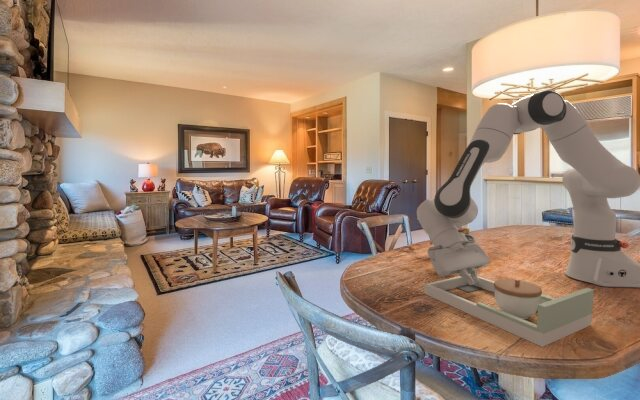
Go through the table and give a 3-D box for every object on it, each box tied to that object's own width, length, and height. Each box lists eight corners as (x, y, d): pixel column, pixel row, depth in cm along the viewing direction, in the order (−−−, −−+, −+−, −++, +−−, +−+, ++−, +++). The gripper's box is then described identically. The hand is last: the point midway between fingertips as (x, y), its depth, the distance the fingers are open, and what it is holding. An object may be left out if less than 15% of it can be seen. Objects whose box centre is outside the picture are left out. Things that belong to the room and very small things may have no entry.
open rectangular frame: (476, 306, 86) (477, 283, 85) (524, 291, 95) (525, 271, 94) (543, 334, 71) (544, 307, 71) (592, 313, 81) (594, 289, 80)
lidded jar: (539, 327, 80) (541, 290, 79) (490, 316, 86) (491, 281, 85) (540, 311, 89) (542, 277, 88) (495, 302, 95) (497, 270, 94)
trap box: (424, 293, 102) (424, 284, 102) (469, 282, 111) (469, 273, 111) (542, 346, 72) (542, 333, 71) (590, 325, 81) (591, 313, 81)
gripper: (430, 242, 98) (457, 284, 90) (477, 235, 107) (504, 273, 100) (419, 253, 102) (443, 295, 95) (465, 245, 112) (490, 283, 104)
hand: (475, 283), depth 97 cm, fingers closed
